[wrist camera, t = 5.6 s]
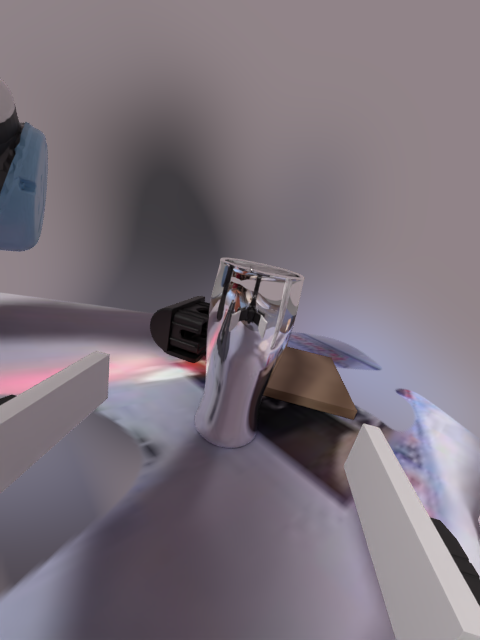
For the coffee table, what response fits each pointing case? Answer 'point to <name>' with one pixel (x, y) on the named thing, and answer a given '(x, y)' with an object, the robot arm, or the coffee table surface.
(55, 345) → the coffee table surface
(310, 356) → the walnut board
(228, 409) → the beer glass
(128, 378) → the coffee table surface
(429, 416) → the coffee table surface
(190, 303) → the end cap
